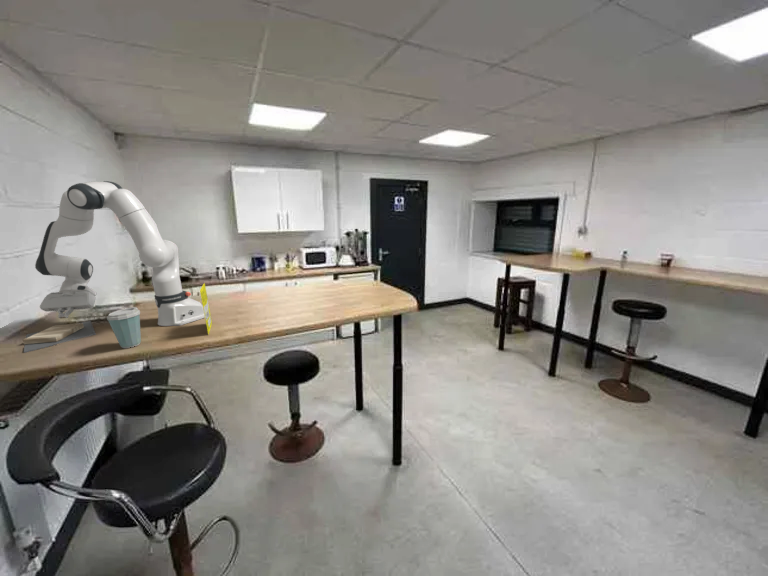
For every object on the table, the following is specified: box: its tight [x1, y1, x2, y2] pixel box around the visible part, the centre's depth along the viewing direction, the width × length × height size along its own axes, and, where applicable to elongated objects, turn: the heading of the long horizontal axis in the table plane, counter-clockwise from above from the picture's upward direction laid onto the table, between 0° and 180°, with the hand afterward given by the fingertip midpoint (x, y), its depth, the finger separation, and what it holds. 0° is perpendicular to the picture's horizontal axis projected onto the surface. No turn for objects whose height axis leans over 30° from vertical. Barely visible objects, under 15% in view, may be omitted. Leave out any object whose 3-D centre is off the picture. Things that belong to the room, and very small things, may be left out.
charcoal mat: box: [23, 320, 97, 353], centre depth 145 cm, size 22×26×1 cm
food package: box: [199, 282, 213, 336], centre depth 144 cm, size 15×1×20 cm, turn 22°
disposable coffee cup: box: [106, 306, 142, 349], centre depth 131 cm, size 11×11×15 cm
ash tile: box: [22, 322, 84, 345], centre depth 143 cm, size 2×12×16 cm
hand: (62, 317), depth 147 cm, fingers closed
